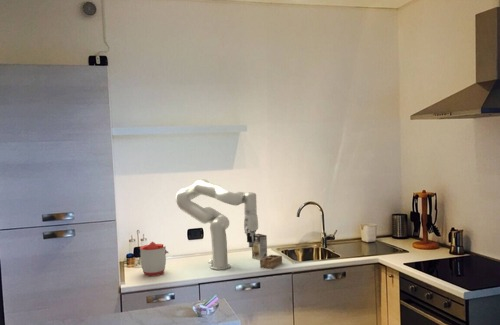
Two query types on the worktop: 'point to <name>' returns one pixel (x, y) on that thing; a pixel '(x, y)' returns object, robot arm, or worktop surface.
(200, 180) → the robot arm
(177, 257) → the worktop surface
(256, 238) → the coffee box
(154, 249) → the citrus juicer
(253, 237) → the pin
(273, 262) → the hole block
